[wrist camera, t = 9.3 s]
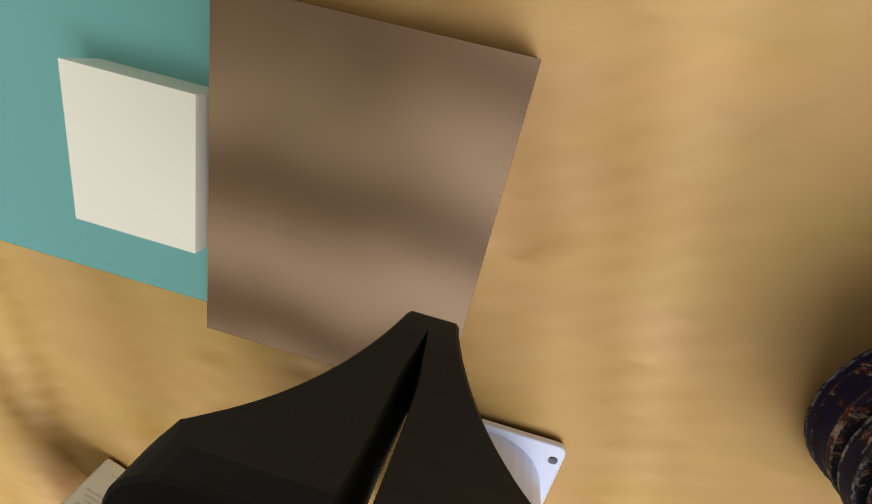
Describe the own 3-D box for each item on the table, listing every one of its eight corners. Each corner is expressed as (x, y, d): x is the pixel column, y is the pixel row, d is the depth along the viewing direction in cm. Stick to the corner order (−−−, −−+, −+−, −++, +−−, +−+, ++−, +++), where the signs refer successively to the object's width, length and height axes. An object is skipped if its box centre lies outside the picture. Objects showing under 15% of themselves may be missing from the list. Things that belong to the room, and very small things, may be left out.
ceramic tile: (222, 238, 22) (195, 253, 20) (111, 206, 23) (76, 218, 21) (226, 91, 19) (195, 94, 18) (100, 58, 20) (57, 57, 18)
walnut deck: (450, 366, 23) (443, 398, 21) (236, 303, 24) (207, 327, 22) (538, 60, 17) (541, 59, 15) (249, -9, 18) (209, -20, 16)
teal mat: (229, 301, 24) (223, 306, 24) (6, 234, 25) (-5, 238, 25) (239, -12, 18) (231, -14, 18) (-54, -82, 19) (-71, -86, 19)
